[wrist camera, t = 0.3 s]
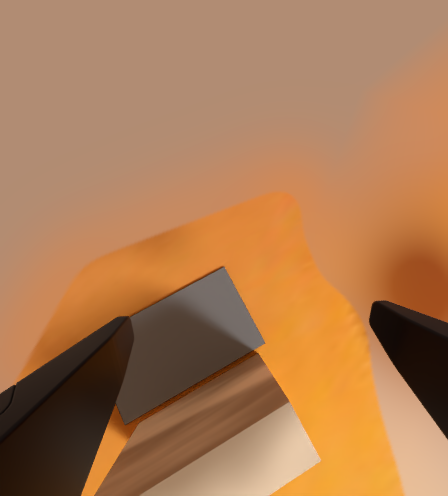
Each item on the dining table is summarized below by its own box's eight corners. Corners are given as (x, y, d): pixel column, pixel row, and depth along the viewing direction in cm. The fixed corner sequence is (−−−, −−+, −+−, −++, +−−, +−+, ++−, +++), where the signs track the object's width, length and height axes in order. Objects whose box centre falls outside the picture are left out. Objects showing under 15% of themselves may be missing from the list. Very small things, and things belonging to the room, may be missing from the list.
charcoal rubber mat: (264, 342, 22) (265, 343, 22) (125, 423, 21) (125, 425, 20) (224, 267, 23) (224, 266, 23) (90, 338, 22) (89, 338, 22)
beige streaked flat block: (274, 383, 21) (321, 460, 12) (153, 457, 20) (91, 613, 10) (258, 352, 22) (289, 401, 12) (139, 422, 21) (66, 540, 11)
